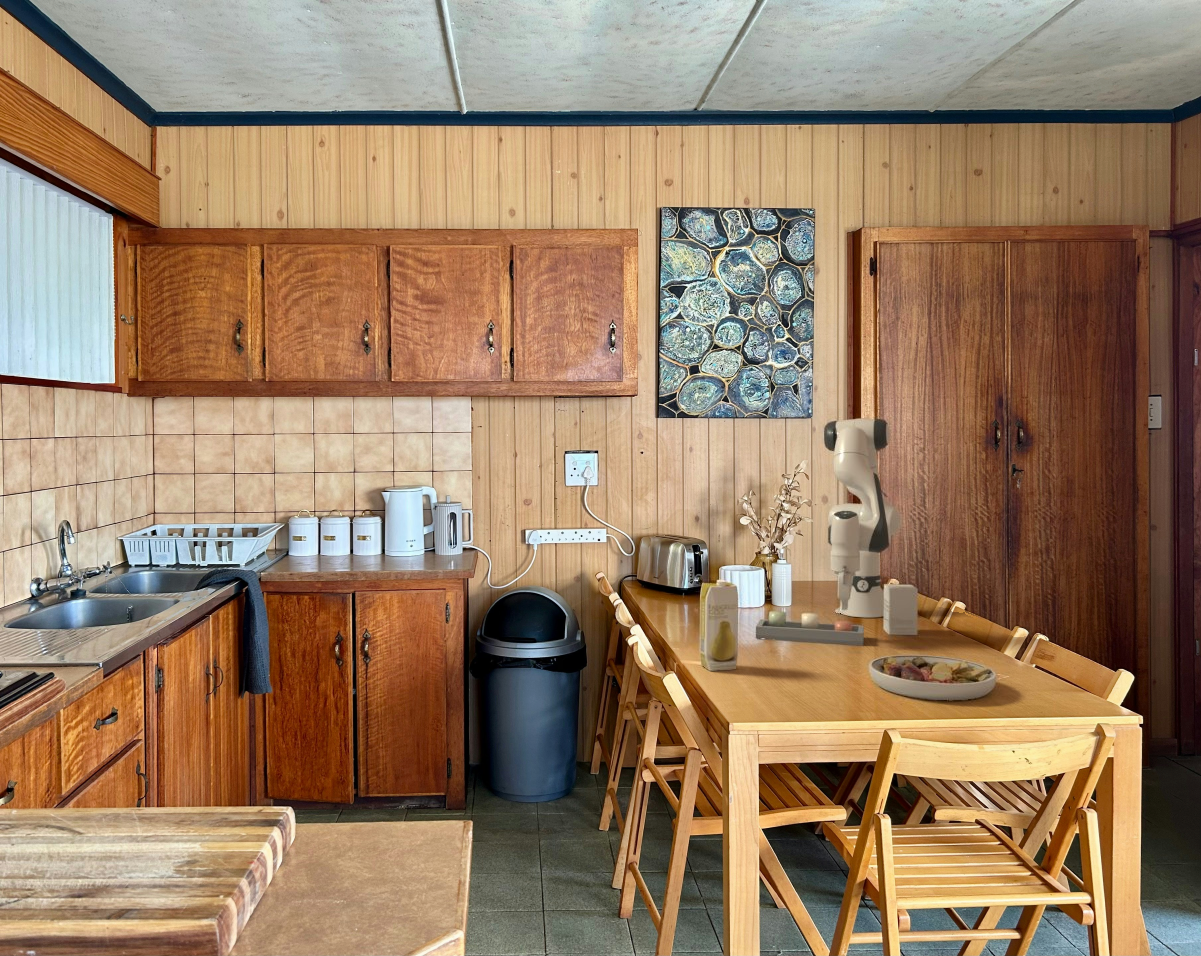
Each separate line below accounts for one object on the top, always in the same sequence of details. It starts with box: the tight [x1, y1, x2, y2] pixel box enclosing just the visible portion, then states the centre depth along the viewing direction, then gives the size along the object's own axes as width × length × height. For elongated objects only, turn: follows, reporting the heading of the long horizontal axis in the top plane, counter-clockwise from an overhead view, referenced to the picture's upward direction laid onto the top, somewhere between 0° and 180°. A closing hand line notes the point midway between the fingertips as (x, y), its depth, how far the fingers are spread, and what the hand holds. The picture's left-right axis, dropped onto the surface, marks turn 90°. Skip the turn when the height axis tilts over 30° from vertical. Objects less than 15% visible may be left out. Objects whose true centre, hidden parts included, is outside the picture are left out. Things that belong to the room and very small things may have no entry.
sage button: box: [768, 610, 787, 627], centre depth 294 cm, size 5×5×4 cm
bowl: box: [868, 654, 997, 702], centre depth 235 cm, size 30×30×8 cm
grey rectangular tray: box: [755, 618, 865, 647], centre depth 291 cm, size 12×32×4 cm, turn 74°
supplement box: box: [883, 583, 919, 636], centre depth 300 cm, size 9×9×15 cm
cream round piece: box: [801, 612, 820, 629], centre depth 291 cm, size 5×5×4 cm
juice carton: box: [699, 579, 739, 672], centre depth 252 cm, size 9×8×24 cm
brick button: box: [834, 620, 853, 631], centre depth 288 cm, size 5×5×4 cm
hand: (844, 609), depth 288 cm, fingers closed
